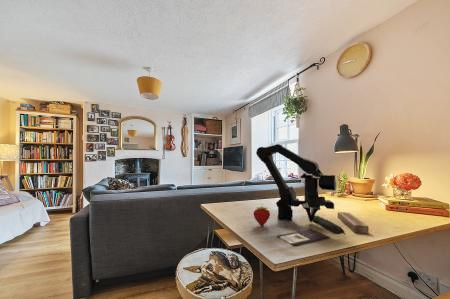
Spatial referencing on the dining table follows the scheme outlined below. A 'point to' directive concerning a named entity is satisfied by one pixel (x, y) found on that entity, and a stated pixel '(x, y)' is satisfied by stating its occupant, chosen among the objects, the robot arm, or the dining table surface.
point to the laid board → (353, 222)
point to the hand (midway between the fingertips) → (310, 221)
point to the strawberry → (261, 215)
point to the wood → (328, 225)
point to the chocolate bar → (303, 237)
